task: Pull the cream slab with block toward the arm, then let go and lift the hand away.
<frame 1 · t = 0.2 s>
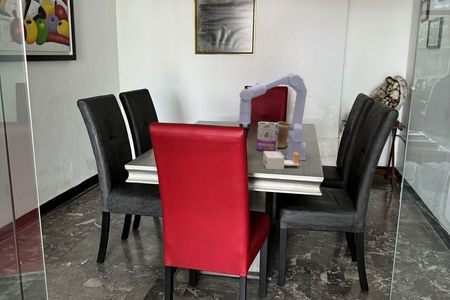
hand: (244, 138, 208), 10 cm above the table, tool pointing down, fingers open, 7 cm apart
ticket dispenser: (272, 165, 196), on the table
cream slab with block: (283, 158, 195), point 4 cm above the table, slide at 0.0 cm
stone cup: (280, 147, 240), on the table
candy bar box: (266, 151, 227), on the table
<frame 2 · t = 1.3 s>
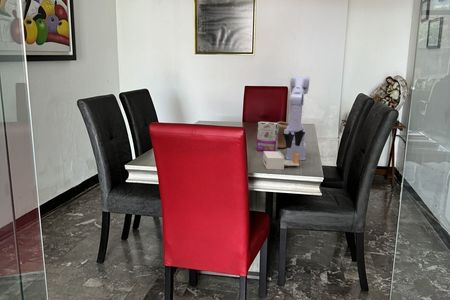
hand: (293, 146, 195), 9 cm above the table, tool pointing down, fingers open, 7 cm apart
nothing on the table moved.
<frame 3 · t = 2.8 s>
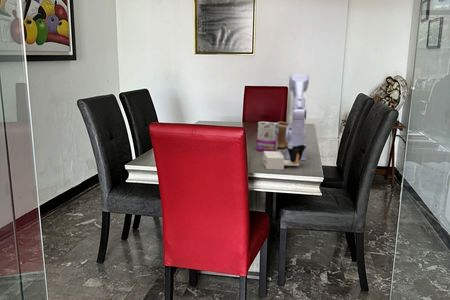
hand: (295, 160, 195), 3 cm above the table, tool pointing down, fingers closed on cream slab with block, 5 cm apart
cream slab with block: (283, 158, 195), point 4 cm above the table, slide at 0.0 cm, touching gripper
everything else where it was.
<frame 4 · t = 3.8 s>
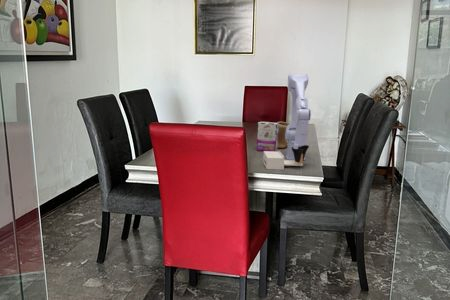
hand: (299, 160, 196), 3 cm above the table, tool pointing down, fingers closed on cream slab with block, 5 cm apart
cream slab with block: (287, 158, 195), point 4 cm above the table, slide at 1.8 cm, touching gripper
everything else where it was.
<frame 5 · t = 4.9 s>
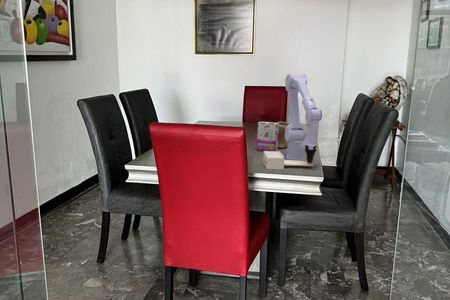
hand: (309, 161, 196), 3 cm above the table, tool pointing down, fingers closed on cream slab with block, 5 cm apart
cream slab with block: (297, 158, 195), point 4 cm above the table, slide at 6.9 cm, touching gripper
everything else where it was.
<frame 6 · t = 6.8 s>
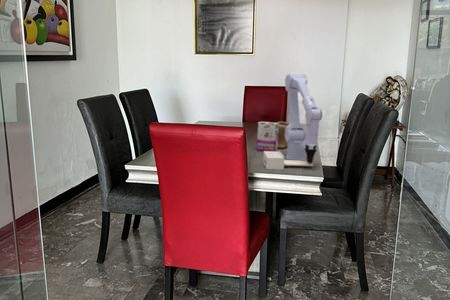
hand: (309, 160, 196), 3 cm above the table, tool pointing down, fingers open, 7 cm apart
cream slab with block: (297, 158, 195), point 4 cm above the table, slide at 6.9 cm
everything else where it was.
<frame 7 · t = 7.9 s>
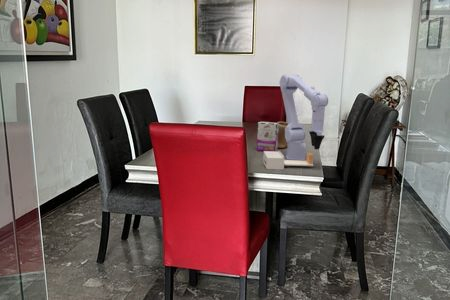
hand: (315, 147, 195), 9 cm above the table, tool pointing down, fingers open, 7 cm apart
nothing on the table moved.
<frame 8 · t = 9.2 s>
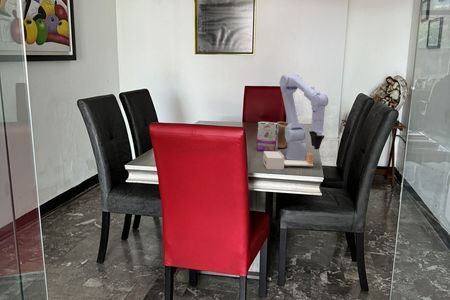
hand: (315, 147, 195), 9 cm above the table, tool pointing down, fingers open, 7 cm apart
nothing on the table moved.
at the end: cream slab with block slide at 6.9 cm; the gripper is holding nothing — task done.
